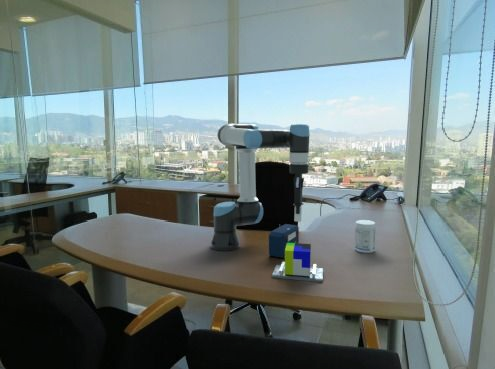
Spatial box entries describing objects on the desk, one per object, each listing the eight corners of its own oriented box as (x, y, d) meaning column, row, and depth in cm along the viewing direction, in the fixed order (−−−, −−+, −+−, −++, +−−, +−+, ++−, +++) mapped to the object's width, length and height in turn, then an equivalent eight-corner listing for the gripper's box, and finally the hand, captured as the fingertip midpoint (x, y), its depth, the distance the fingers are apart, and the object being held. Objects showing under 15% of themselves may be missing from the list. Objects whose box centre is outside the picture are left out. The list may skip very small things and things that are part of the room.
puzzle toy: (310, 276, 126) (310, 251, 125) (284, 274, 128) (284, 250, 127) (310, 266, 136) (310, 244, 134) (287, 264, 138) (287, 242, 136)
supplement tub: (364, 246, 167) (365, 218, 165) (379, 251, 158) (380, 222, 156) (350, 249, 162) (351, 221, 160) (364, 254, 154) (365, 225, 152)
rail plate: (272, 277, 129) (272, 270, 129) (276, 267, 140) (276, 260, 139) (322, 282, 124) (322, 274, 124) (322, 271, 135) (323, 264, 134)
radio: (283, 260, 148) (283, 218, 146) (267, 257, 153) (267, 216, 150) (301, 247, 166) (301, 210, 163) (285, 245, 170) (285, 208, 168)
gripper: (307, 164, 119) (306, 225, 122) (309, 162, 131) (308, 217, 135) (287, 164, 121) (286, 224, 124) (291, 162, 133) (290, 216, 137)
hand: (297, 220), depth 130 cm, fingers closed
